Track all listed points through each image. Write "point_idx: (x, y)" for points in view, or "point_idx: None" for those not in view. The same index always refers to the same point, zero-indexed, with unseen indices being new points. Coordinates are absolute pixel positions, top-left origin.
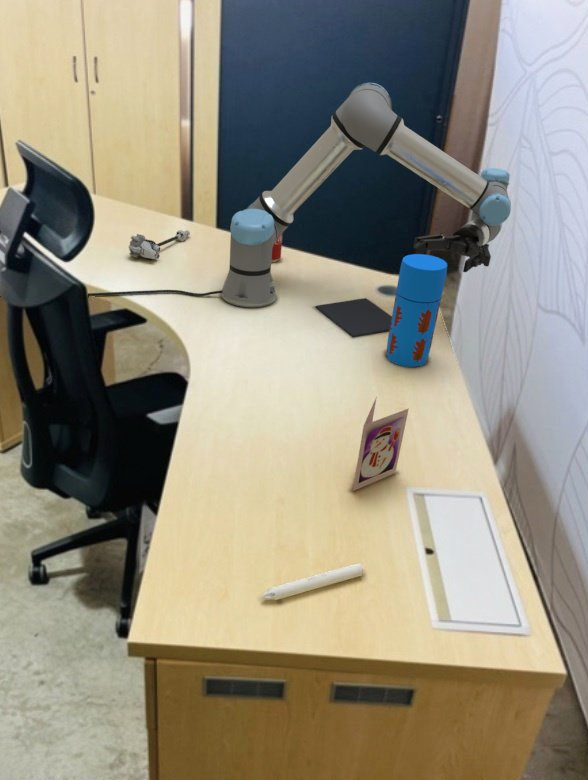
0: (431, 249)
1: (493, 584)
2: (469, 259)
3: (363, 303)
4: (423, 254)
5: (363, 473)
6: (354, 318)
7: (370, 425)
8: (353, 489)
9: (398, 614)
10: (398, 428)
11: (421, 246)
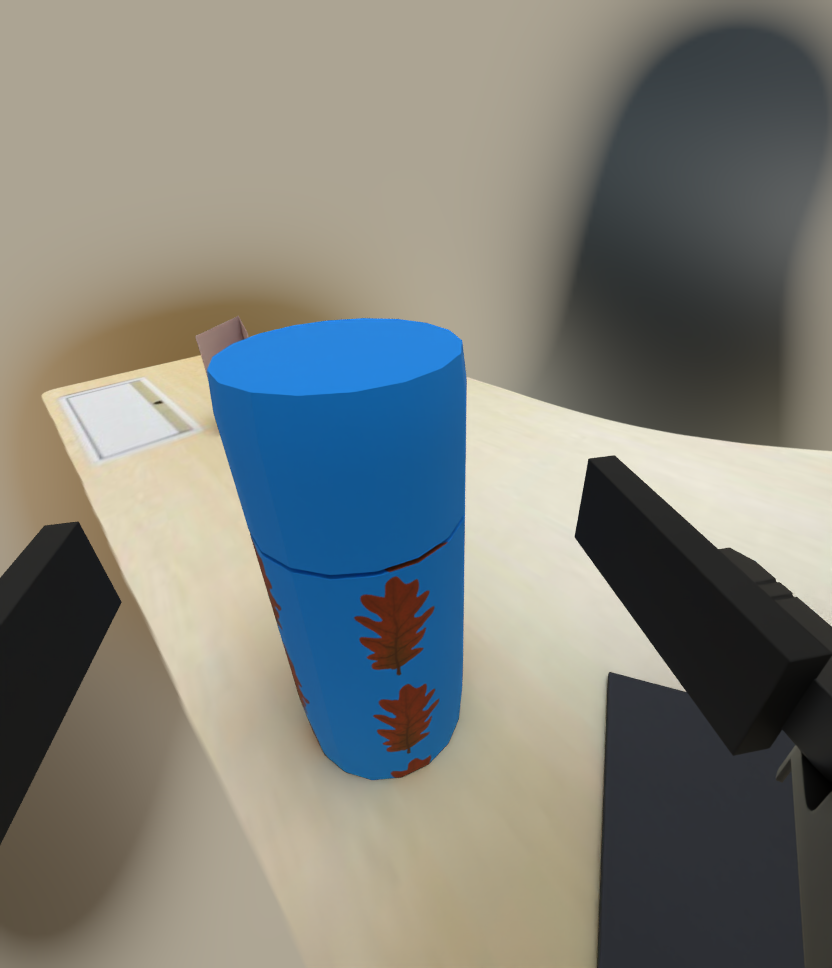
0: (808, 928)
1: (89, 407)
2: (20, 573)
3: None
4: (410, 379)
5: None
6: (777, 806)
7: (233, 323)
8: None
9: (172, 373)
10: (210, 359)
11: (660, 551)
